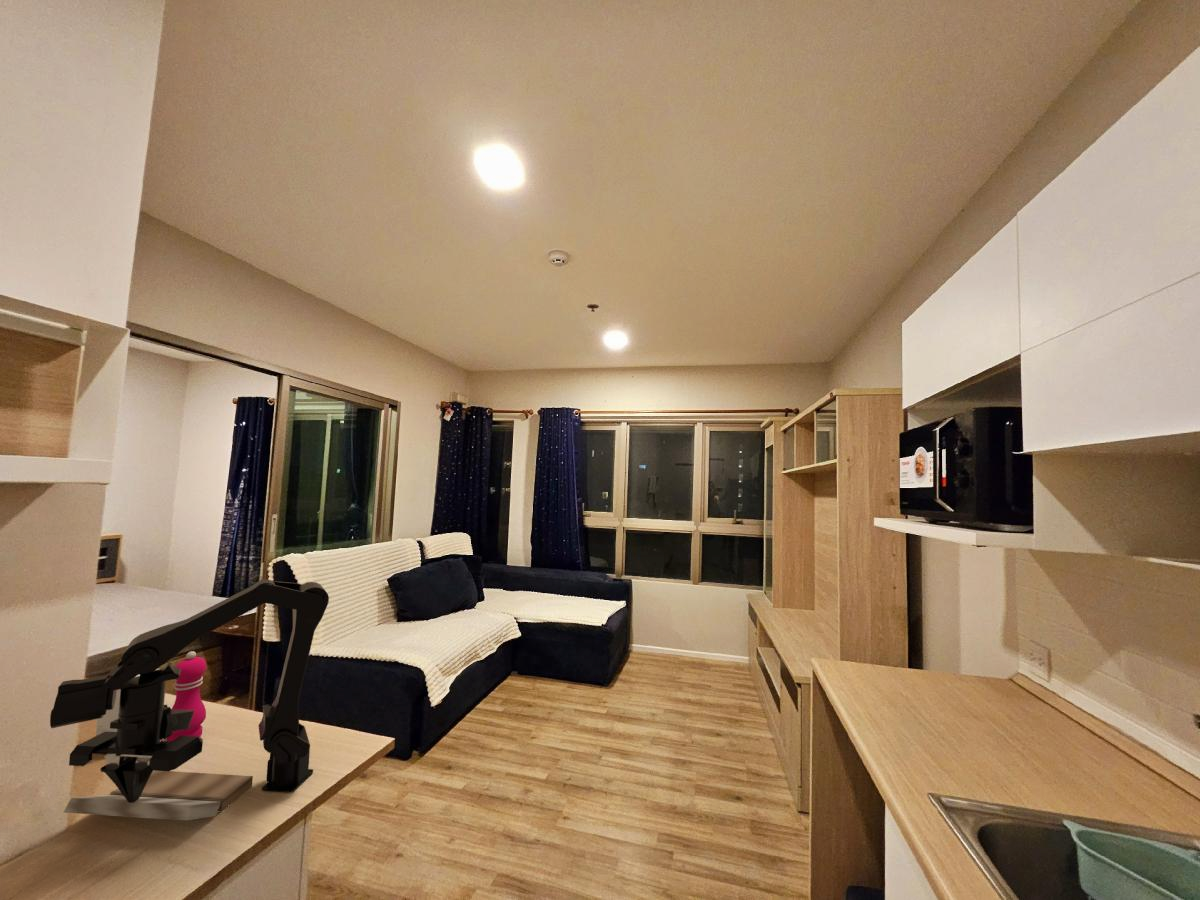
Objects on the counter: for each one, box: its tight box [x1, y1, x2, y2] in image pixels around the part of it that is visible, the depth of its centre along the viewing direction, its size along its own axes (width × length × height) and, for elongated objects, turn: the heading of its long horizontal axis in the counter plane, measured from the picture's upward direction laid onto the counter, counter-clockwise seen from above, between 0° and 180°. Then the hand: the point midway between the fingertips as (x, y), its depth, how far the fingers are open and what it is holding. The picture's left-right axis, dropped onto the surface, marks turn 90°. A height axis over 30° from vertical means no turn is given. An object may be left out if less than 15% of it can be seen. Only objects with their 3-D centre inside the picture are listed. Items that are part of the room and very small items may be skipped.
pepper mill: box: [165, 650, 208, 742], centre depth 107 cm, size 7×7×20 cm
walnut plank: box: [109, 770, 254, 812], centre depth 89 cm, size 22×7×2 cm, turn 88°
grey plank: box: [63, 794, 221, 821], centre depth 82 cm, size 22×7×2 cm, turn 88°
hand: (133, 800), depth 80 cm, fingers closed, pressing on grey plank
